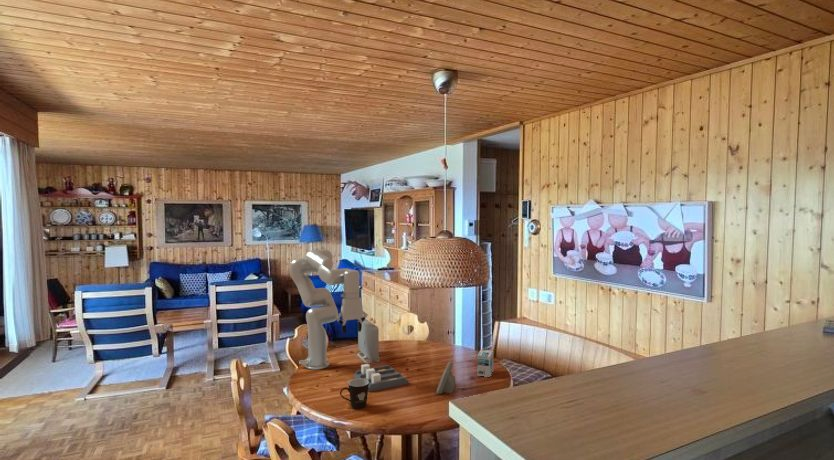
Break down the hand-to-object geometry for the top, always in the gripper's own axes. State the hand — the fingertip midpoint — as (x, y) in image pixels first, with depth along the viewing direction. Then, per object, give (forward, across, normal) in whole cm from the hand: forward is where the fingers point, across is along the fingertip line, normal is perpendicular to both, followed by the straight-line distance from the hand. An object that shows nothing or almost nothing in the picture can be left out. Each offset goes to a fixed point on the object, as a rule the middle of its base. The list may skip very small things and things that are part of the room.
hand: (351, 331), depth 205 cm
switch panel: (+24, +12, -7) cm, 27 cm away
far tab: (+22, +7, 0) cm, 23 cm away
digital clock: (+24, +35, -30) cm, 52 cm away
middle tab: (+22, +7, -7) cm, 24 cm away
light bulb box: (+24, +63, -23) cm, 71 cm away
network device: (+24, +19, +28) cm, 41 cm away
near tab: (+22, +7, -14) cm, 27 cm away
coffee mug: (+24, -8, -28) cm, 38 cm away
